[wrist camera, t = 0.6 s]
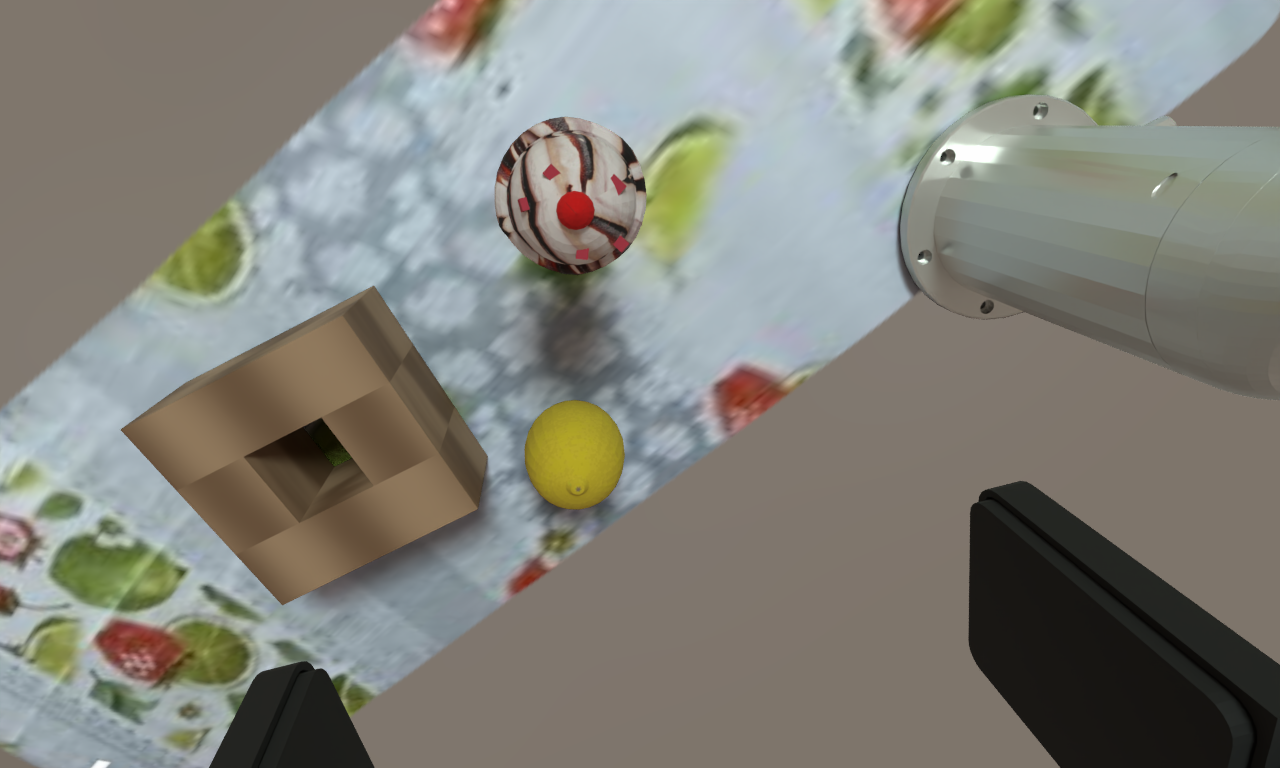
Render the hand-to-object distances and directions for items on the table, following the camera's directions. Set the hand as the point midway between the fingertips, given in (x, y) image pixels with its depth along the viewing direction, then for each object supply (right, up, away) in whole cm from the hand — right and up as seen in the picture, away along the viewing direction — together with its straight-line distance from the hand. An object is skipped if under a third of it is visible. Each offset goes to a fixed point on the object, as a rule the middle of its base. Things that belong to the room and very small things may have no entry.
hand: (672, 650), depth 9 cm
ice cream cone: (-4, +15, +26) cm, 30 cm away
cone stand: (-18, +2, +29) cm, 34 cm away
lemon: (-5, +1, +31) cm, 32 cm away
